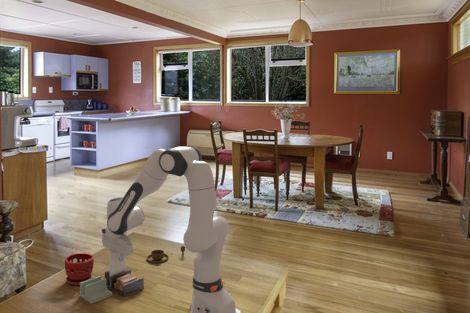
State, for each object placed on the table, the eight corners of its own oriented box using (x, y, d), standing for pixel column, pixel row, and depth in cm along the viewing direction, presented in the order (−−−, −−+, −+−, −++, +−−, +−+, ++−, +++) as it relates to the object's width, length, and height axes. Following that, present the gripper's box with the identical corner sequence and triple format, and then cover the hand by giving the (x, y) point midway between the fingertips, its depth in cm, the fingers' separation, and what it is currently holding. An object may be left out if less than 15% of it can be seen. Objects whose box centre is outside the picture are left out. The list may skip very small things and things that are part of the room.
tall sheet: (126, 279, 192) (125, 249, 190) (112, 285, 186) (111, 254, 184) (124, 278, 193) (123, 248, 191) (109, 283, 187) (108, 253, 185)
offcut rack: (143, 288, 186) (143, 273, 185) (123, 297, 178) (123, 281, 177) (124, 279, 196) (124, 264, 194) (105, 286, 187) (104, 271, 186)
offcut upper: (137, 281, 186) (136, 277, 185) (124, 286, 180) (124, 282, 180) (129, 277, 189) (129, 273, 189) (116, 282, 184) (116, 278, 184)
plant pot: (78, 289, 184) (77, 265, 182) (59, 282, 190) (58, 259, 189) (100, 278, 195) (99, 255, 194) (81, 272, 202) (81, 250, 200)
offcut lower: (139, 285, 186) (139, 281, 186) (123, 291, 179) (123, 287, 179) (130, 280, 191) (130, 276, 190) (114, 287, 184) (114, 283, 184)
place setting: (152, 253, 230) (152, 243, 229) (186, 255, 228) (186, 245, 227) (142, 265, 213) (141, 255, 212) (178, 268, 211) (178, 257, 210)
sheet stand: (112, 295, 179) (111, 281, 178) (91, 303, 172) (91, 289, 171) (99, 288, 186) (99, 275, 185) (79, 296, 178) (79, 282, 177)
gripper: (136, 234, 182) (136, 263, 184) (110, 225, 195) (111, 252, 197) (124, 238, 177) (125, 267, 179) (99, 228, 190) (100, 255, 192)
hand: (117, 259), depth 188 cm, fingers open, 4 cm apart
